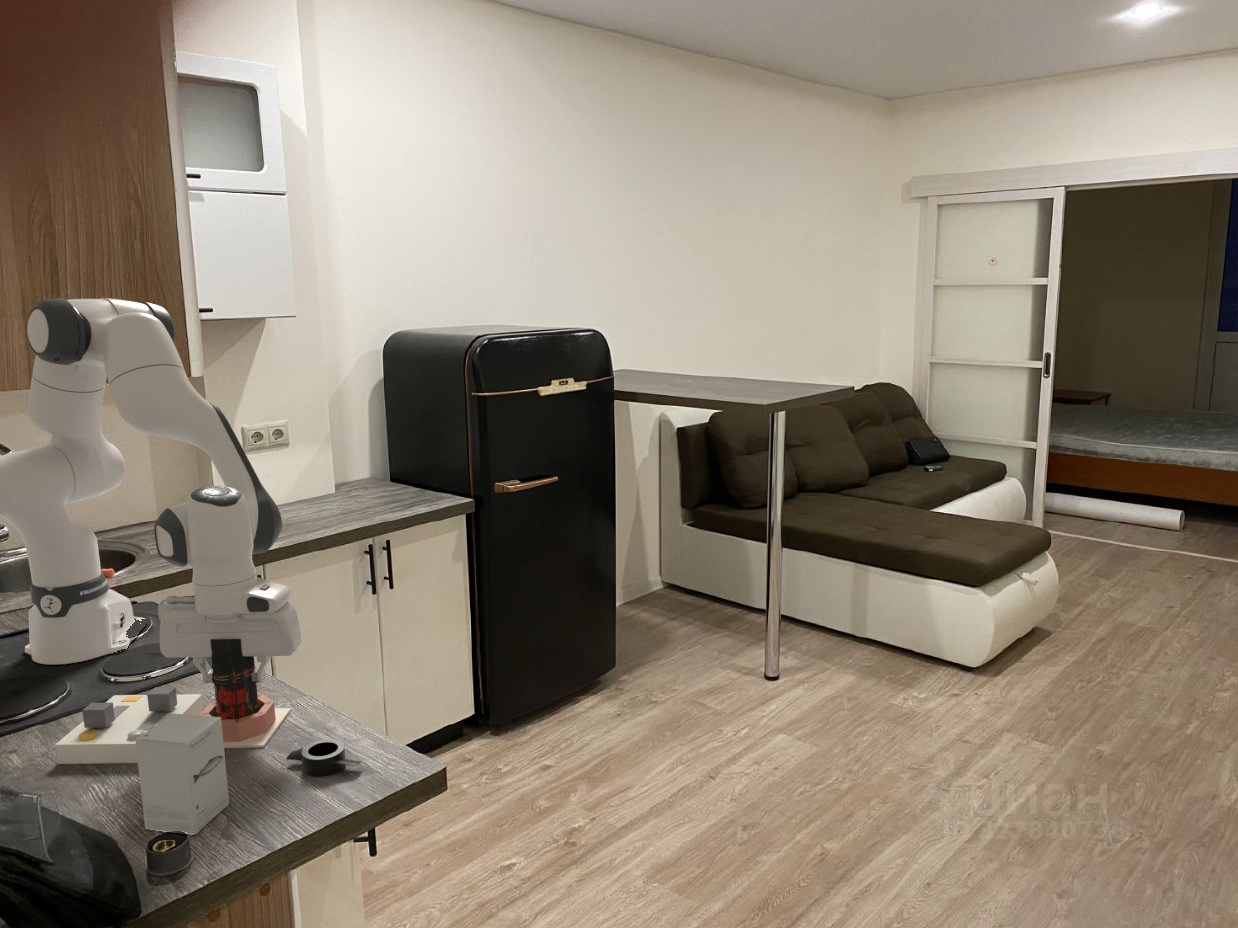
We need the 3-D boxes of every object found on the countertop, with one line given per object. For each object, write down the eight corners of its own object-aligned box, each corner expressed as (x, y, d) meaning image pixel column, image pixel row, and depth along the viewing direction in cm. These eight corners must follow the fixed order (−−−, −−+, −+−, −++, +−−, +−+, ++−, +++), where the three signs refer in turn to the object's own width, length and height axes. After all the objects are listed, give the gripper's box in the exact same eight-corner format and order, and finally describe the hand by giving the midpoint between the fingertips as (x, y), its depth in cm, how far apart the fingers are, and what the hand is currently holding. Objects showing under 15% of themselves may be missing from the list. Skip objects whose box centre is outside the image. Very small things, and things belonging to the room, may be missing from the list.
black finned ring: (313, 791, 125) (311, 772, 124) (283, 764, 132) (282, 745, 131) (366, 771, 130) (364, 752, 129) (334, 746, 137) (333, 728, 136)
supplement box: (195, 837, 114) (185, 743, 112) (143, 830, 116) (132, 738, 113) (231, 804, 121) (223, 715, 119) (182, 799, 123) (172, 711, 120)
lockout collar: (216, 711, 148) (214, 691, 147) (291, 710, 148) (289, 690, 147) (182, 748, 136) (179, 727, 135) (263, 747, 136) (261, 726, 136)
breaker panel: (116, 712, 148) (113, 692, 147) (203, 711, 148) (201, 691, 147) (57, 763, 132) (54, 741, 131) (155, 762, 132) (152, 740, 131)
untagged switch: (156, 704, 143) (154, 687, 142) (177, 704, 143) (175, 687, 142) (149, 711, 141) (147, 694, 140) (170, 711, 141) (168, 694, 140)
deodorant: (211, 727, 142) (201, 635, 139) (247, 713, 146) (239, 624, 143) (230, 739, 138) (221, 645, 135) (267, 724, 142) (259, 633, 139)
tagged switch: (93, 720, 138) (91, 702, 137) (114, 719, 138) (112, 702, 137) (84, 727, 136) (82, 710, 135) (106, 727, 136) (104, 709, 135)
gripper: (146, 603, 135) (156, 691, 137) (286, 601, 135) (294, 689, 137) (166, 589, 141) (176, 673, 143) (300, 587, 141) (307, 672, 144)
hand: (234, 681), depth 140 cm, fingers closed on deodorant, 6 cm apart
